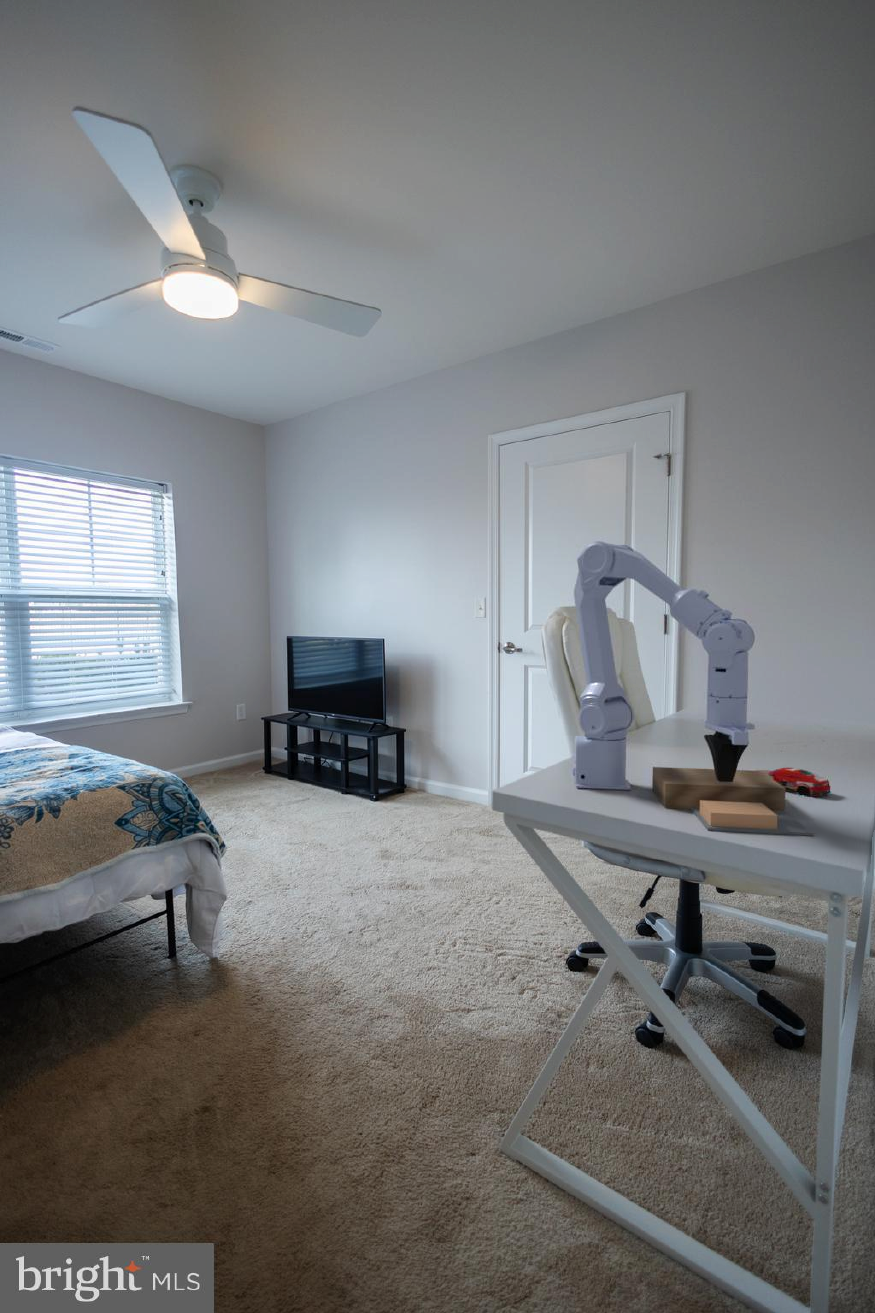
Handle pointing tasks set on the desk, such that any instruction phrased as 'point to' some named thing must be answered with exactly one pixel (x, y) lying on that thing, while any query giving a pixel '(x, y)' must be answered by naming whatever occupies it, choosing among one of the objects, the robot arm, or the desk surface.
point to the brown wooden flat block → (715, 788)
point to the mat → (784, 826)
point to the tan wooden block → (738, 814)
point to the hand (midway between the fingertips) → (724, 780)
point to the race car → (799, 781)
